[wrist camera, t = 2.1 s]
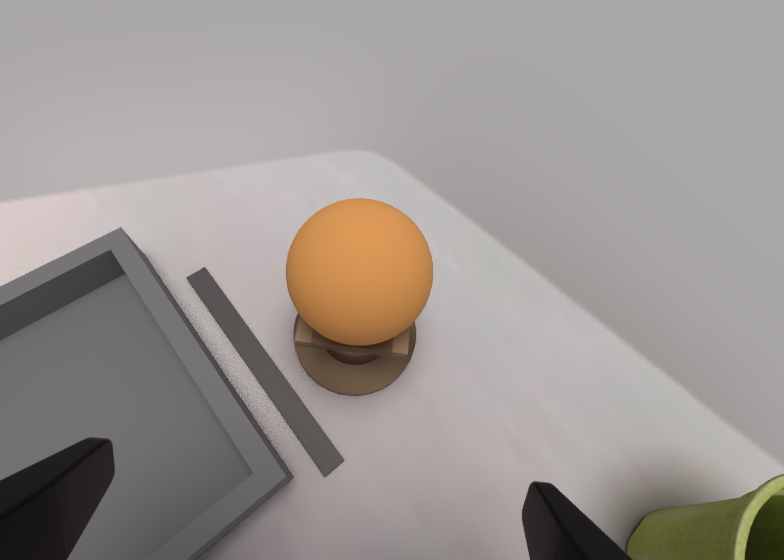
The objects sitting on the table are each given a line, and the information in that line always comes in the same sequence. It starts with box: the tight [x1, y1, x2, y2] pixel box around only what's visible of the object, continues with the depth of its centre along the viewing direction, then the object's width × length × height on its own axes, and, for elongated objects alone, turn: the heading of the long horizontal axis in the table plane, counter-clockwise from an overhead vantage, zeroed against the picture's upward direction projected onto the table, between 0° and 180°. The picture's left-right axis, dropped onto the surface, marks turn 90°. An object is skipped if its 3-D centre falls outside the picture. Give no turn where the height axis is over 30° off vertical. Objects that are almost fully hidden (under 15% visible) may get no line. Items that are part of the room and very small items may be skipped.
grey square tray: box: [0, 227, 293, 560], centre depth 18 cm, size 16×16×3 cm
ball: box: [286, 199, 433, 346], centre depth 17 cm, size 6×6×6 cm
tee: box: [294, 313, 416, 396], centre depth 22 cm, size 7×7×6 cm
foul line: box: [187, 267, 344, 477], centre depth 23 cm, size 1×14×1 cm, turn 40°
